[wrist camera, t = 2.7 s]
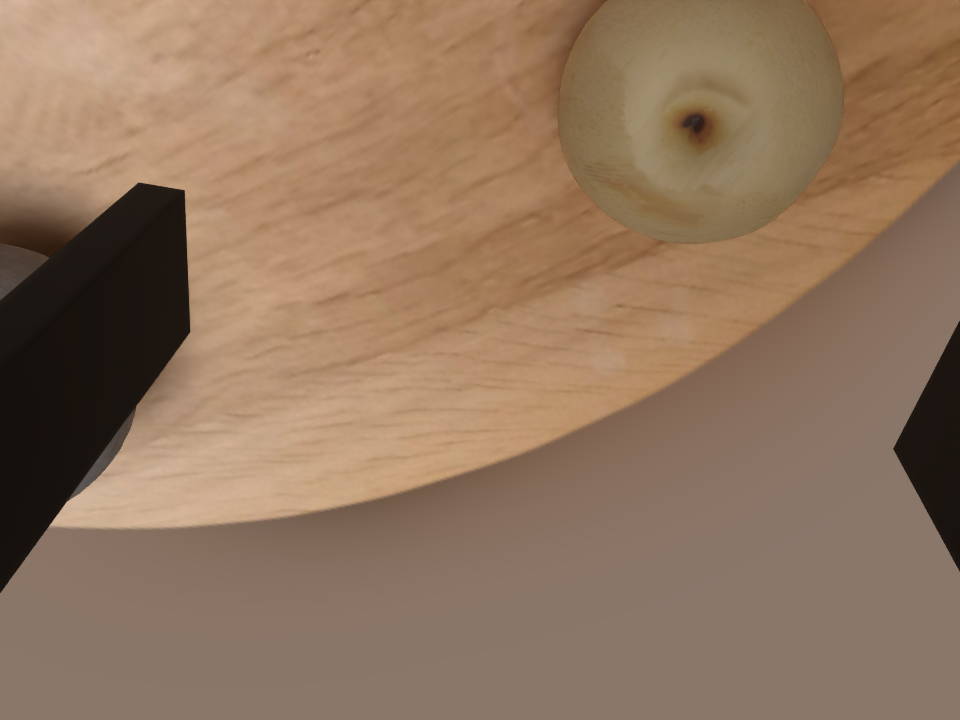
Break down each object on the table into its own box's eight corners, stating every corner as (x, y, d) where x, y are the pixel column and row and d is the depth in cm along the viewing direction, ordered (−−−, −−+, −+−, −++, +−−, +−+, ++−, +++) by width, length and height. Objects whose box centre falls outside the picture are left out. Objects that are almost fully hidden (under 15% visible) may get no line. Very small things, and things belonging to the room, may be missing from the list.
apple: (741, 242, 30) (645, 334, 25) (590, 79, 31) (464, 135, 26) (932, 79, 25) (859, 153, 19) (742, -116, 25) (621, -96, 20)
